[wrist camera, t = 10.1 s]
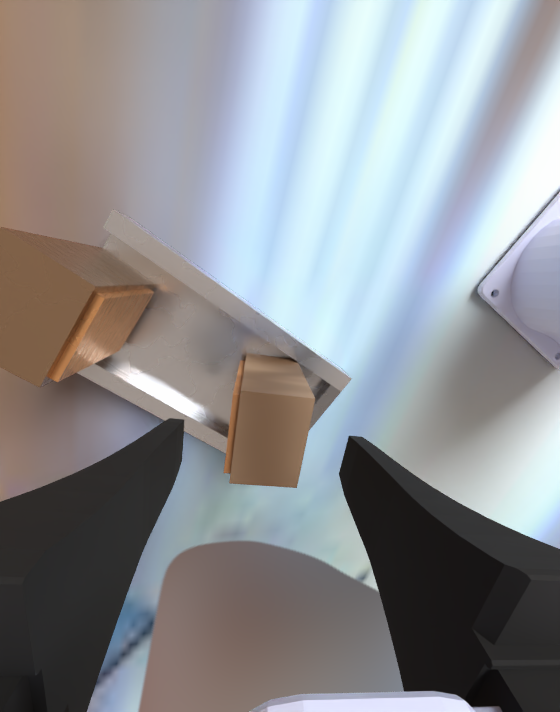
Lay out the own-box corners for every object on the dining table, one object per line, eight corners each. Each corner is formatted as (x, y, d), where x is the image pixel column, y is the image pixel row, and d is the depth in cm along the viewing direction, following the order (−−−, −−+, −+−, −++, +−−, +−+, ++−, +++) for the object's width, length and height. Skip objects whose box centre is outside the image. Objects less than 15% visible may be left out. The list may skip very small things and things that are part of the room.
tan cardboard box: (296, 359, 16) (315, 398, 11) (284, 423, 17) (296, 487, 12) (241, 352, 15) (233, 389, 10) (233, 418, 17) (222, 482, 11)
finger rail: (342, 369, 17) (389, 419, 11) (268, 459, 19) (274, 548, 13) (131, 218, 14) (28, 167, 8) (62, 343, 15) (-71, 386, 9)
